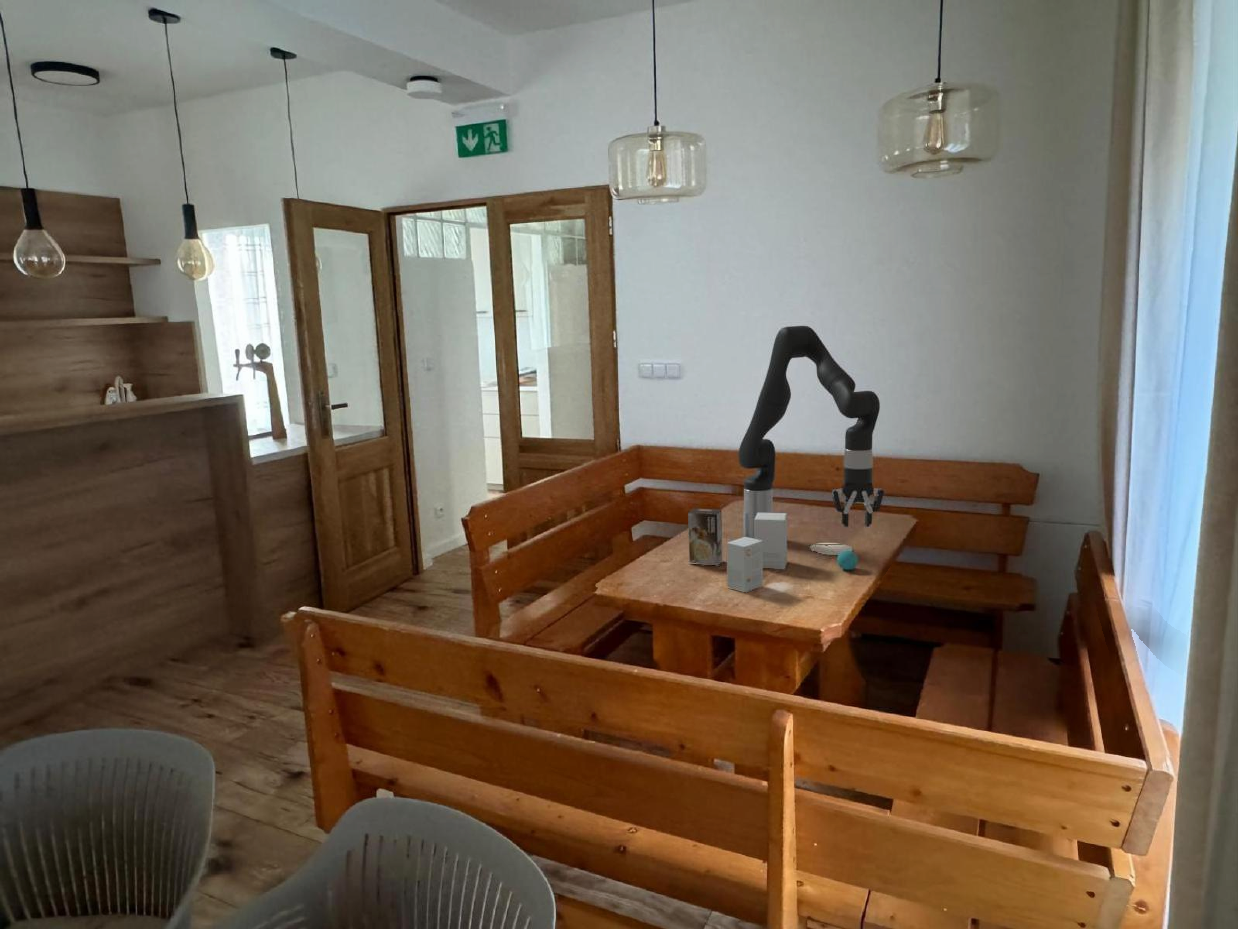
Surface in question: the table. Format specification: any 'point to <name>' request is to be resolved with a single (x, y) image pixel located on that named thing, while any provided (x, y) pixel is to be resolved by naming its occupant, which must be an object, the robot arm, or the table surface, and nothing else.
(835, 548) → the disc
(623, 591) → the table surface
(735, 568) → the small box
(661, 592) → the table surface
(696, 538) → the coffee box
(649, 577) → the table surface
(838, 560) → the ball
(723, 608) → the table surface
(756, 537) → the supplement box
